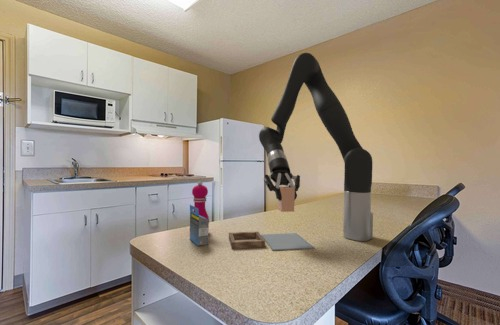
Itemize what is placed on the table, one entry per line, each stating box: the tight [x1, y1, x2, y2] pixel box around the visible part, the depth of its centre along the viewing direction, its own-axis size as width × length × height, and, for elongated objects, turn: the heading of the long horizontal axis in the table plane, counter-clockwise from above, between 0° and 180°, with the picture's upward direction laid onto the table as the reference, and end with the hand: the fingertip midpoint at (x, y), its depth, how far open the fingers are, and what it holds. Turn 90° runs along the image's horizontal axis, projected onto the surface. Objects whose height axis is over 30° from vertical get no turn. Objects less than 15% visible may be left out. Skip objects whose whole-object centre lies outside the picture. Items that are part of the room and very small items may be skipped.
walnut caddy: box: [228, 231, 266, 250], centre depth 84 cm, size 11×11×2 cm
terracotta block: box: [277, 186, 296, 213], centre depth 86 cm, size 4×4×8 cm
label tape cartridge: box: [189, 204, 210, 247], centre depth 84 cm, size 9×4×12 cm, turn 32°
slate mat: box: [260, 232, 315, 252], centre depth 86 cm, size 14×16×1 cm
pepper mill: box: [191, 180, 210, 221], centre depth 95 cm, size 7×7×20 cm
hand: (287, 199), depth 84 cm, fingers closed on terracotta block, 4 cm apart
